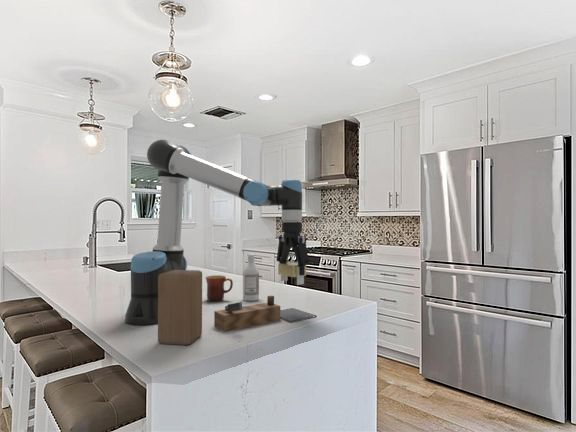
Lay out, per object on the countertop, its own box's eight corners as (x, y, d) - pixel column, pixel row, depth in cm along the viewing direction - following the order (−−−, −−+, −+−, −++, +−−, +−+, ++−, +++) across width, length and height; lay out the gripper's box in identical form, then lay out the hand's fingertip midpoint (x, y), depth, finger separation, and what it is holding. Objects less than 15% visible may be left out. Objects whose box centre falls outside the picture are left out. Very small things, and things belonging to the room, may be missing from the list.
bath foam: (261, 300, 162) (261, 254, 162) (246, 302, 159) (247, 255, 159) (254, 297, 168) (255, 253, 168) (240, 298, 165) (240, 254, 165)
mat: (290, 322, 128) (290, 320, 128) (267, 314, 139) (267, 312, 139) (316, 317, 135) (316, 315, 135) (292, 309, 146) (292, 307, 146)
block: (156, 344, 105) (156, 274, 105) (172, 333, 115) (172, 269, 115) (189, 346, 104) (189, 274, 104) (203, 335, 113) (203, 270, 114)
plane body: (224, 331, 117) (224, 306, 117) (214, 326, 123) (214, 302, 123) (280, 320, 131) (280, 297, 131) (269, 315, 136) (269, 294, 136)
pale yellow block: (293, 277, 131) (293, 265, 131) (278, 274, 139) (278, 263, 139) (306, 275, 135) (306, 264, 135) (291, 272, 142) (291, 262, 142)
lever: (225, 312, 122) (238, 310, 115) (224, 305, 123) (237, 302, 116) (230, 311, 123) (244, 309, 116) (229, 304, 124) (243, 301, 117)
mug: (202, 302, 158) (202, 278, 158) (208, 297, 167) (209, 275, 167) (230, 302, 157) (230, 278, 157) (234, 298, 166) (235, 275, 166)
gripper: (319, 221, 131) (319, 285, 130) (282, 221, 148) (282, 277, 148) (302, 221, 126) (302, 287, 126) (267, 221, 143) (267, 279, 143)
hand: (292, 282), depth 137 cm, fingers closed on pale yellow block, 9 cm apart
